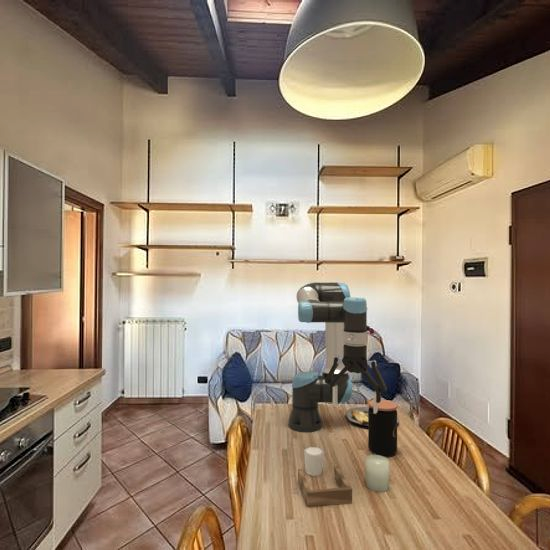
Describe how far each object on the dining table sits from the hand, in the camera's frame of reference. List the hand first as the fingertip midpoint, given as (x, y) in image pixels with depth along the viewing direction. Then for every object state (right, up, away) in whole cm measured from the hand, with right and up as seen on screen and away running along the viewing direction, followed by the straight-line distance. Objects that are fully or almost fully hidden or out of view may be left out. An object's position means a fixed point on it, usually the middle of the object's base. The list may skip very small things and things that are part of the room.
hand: (354, 408), depth 119 cm
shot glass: (-13, -23, +4) cm, 27 cm away
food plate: (+19, -24, +50) cm, 59 cm away
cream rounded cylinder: (+6, -23, -4) cm, 24 cm away
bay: (-11, -23, -7) cm, 27 cm away
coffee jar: (+15, -24, +19) cm, 34 cm away
